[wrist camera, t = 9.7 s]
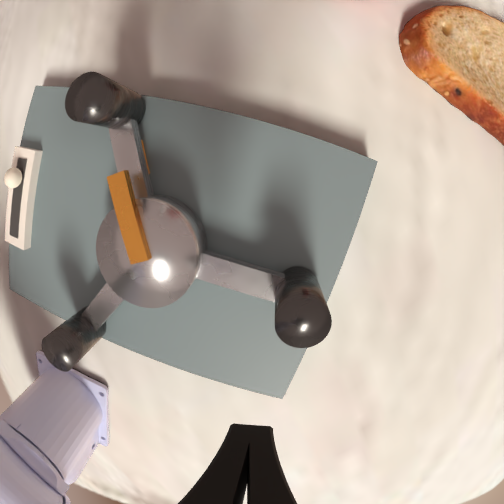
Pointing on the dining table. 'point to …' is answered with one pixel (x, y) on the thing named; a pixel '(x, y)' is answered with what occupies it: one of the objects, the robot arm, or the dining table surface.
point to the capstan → (164, 243)
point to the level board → (208, 211)
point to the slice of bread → (460, 60)
